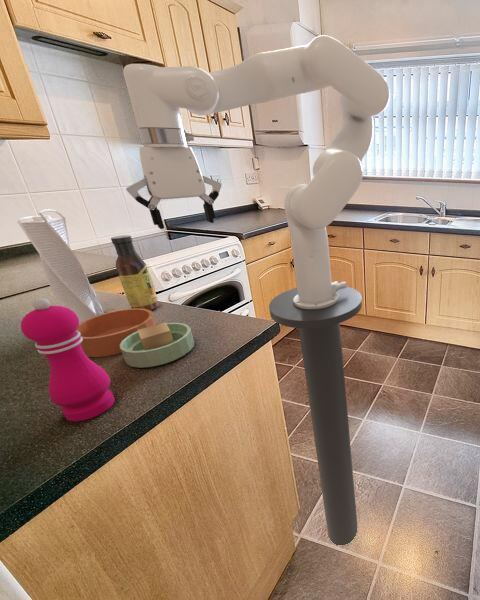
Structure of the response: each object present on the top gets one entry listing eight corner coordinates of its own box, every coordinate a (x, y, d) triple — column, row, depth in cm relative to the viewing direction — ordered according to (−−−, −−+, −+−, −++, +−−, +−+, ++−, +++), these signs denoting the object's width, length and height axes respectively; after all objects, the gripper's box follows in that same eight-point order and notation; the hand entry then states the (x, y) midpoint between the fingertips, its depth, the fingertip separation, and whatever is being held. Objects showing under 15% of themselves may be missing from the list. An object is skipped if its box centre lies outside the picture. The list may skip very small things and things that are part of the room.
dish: (187, 332, 79) (183, 317, 78) (201, 353, 71) (196, 337, 69) (123, 351, 72) (116, 335, 70) (130, 377, 64) (123, 359, 62)
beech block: (171, 342, 74) (165, 322, 72) (176, 351, 71) (170, 330, 69) (144, 350, 71) (137, 329, 69) (148, 360, 68) (140, 339, 66)
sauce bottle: (161, 309, 91) (138, 236, 83) (133, 316, 88) (106, 241, 80) (157, 301, 96) (134, 232, 88) (130, 308, 92) (104, 236, 84)
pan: (152, 319, 86) (147, 303, 84) (163, 340, 76) (157, 322, 74) (77, 338, 77) (69, 321, 75) (79, 365, 67) (70, 346, 65)
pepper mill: (53, 415, 54) (-8, 303, 46) (104, 389, 60) (58, 286, 52) (75, 430, 52) (14, 313, 43) (127, 401, 57) (82, 293, 49)
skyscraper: (113, 321, 85) (69, 207, 74) (71, 333, 79) (16, 212, 68) (103, 312, 90) (59, 204, 78) (63, 323, 84) (9, 209, 72)
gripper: (206, 140, 75) (223, 217, 82) (108, 139, 65) (136, 228, 72) (216, 139, 70) (233, 222, 77) (111, 138, 60) (142, 233, 67)
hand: (186, 224), depth 74 cm, fingers open, 9 cm apart
